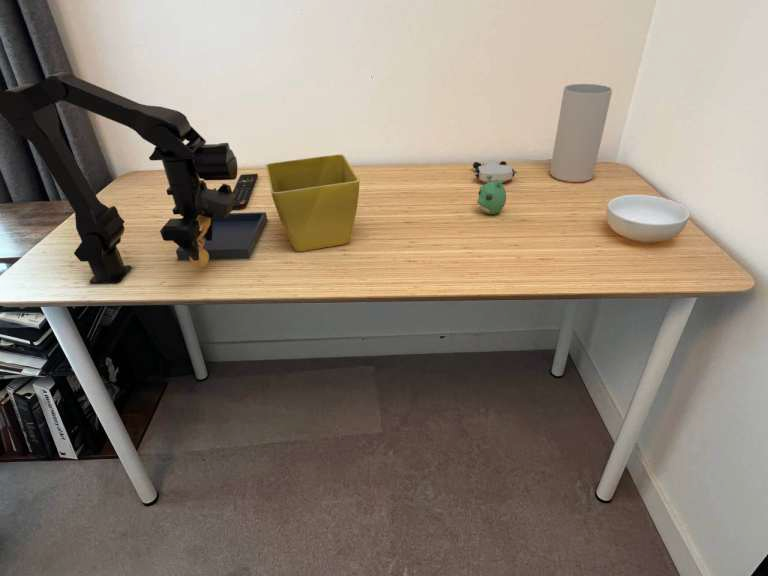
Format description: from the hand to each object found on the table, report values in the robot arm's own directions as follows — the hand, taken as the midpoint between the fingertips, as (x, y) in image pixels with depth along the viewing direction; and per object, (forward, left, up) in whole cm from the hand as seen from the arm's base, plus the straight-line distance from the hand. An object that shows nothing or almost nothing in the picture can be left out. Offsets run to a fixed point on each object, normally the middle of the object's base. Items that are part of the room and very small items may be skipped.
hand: (203, 250), depth 102 cm
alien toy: (+27, -66, -6) cm, 72 cm away
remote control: (+45, +4, -6) cm, 46 cm away
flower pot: (+16, -22, -6) cm, 28 cm away
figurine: (0, 0, -4) cm, 4 cm away
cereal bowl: (+13, -99, -6) cm, 100 cm away
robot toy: (+52, -71, -6) cm, 88 cm away
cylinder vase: (+52, -95, -6) cm, 108 cm away
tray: (+16, +1, -6) cm, 17 cm away
